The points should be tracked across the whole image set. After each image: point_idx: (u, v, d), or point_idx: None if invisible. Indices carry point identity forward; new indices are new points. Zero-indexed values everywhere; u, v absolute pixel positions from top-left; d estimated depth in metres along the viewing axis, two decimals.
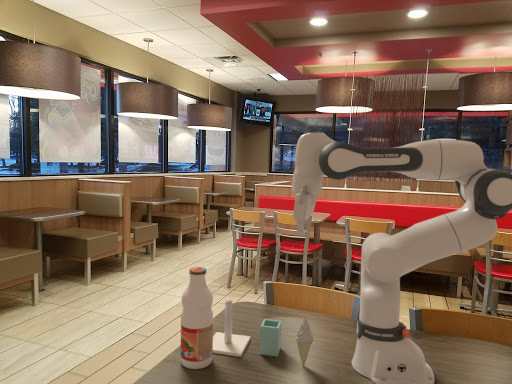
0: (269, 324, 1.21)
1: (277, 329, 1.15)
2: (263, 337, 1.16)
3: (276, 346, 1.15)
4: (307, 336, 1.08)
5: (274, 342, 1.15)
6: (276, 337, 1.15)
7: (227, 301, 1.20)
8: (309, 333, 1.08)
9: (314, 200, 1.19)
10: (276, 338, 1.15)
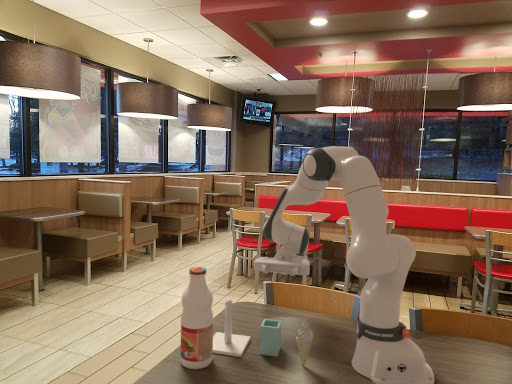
0: (269, 324, 1.21)
1: (277, 329, 1.15)
2: (263, 337, 1.16)
3: (276, 346, 1.15)
4: (307, 336, 1.08)
5: (274, 342, 1.15)
6: (276, 337, 1.15)
7: (227, 301, 1.20)
8: (309, 333, 1.08)
9: (304, 261, 1.36)
10: (276, 338, 1.15)
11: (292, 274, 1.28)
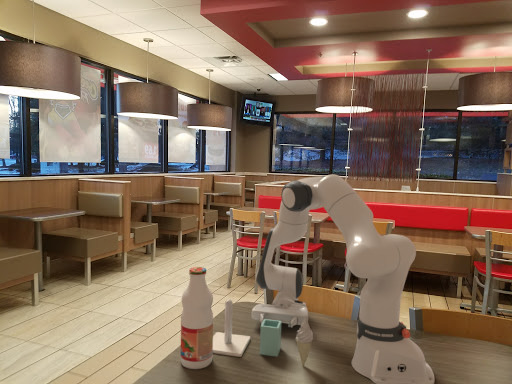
0: (269, 324, 1.21)
1: (277, 329, 1.15)
2: (263, 337, 1.16)
3: (276, 346, 1.15)
4: (307, 336, 1.08)
5: (274, 342, 1.15)
6: (276, 337, 1.15)
7: (227, 301, 1.20)
8: (309, 333, 1.08)
9: (302, 310, 1.35)
10: (276, 338, 1.15)
11: (290, 325, 1.27)
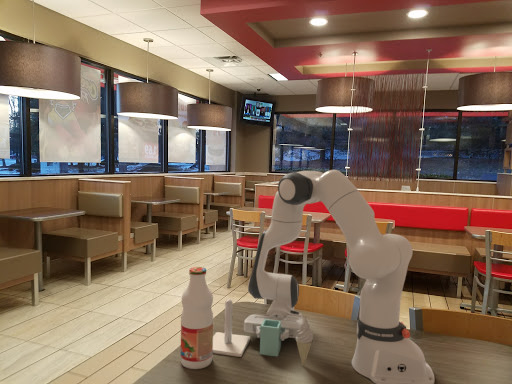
0: (269, 324, 1.21)
1: (277, 329, 1.15)
2: (263, 337, 1.16)
3: (276, 346, 1.15)
4: (307, 336, 1.08)
5: (274, 342, 1.15)
6: (276, 337, 1.15)
7: (227, 301, 1.20)
8: (309, 333, 1.08)
9: (298, 321, 1.25)
10: (276, 338, 1.15)
11: (281, 339, 1.17)
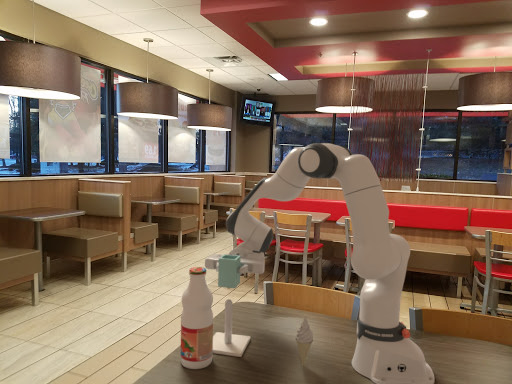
0: None
1: (234, 261, 1.17)
2: (221, 269, 1.18)
3: (234, 278, 1.17)
4: (307, 336, 1.08)
5: (232, 274, 1.17)
6: (234, 269, 1.17)
7: (227, 301, 1.20)
8: (309, 333, 1.08)
9: (259, 258, 1.26)
10: (234, 270, 1.17)
11: (239, 272, 1.18)
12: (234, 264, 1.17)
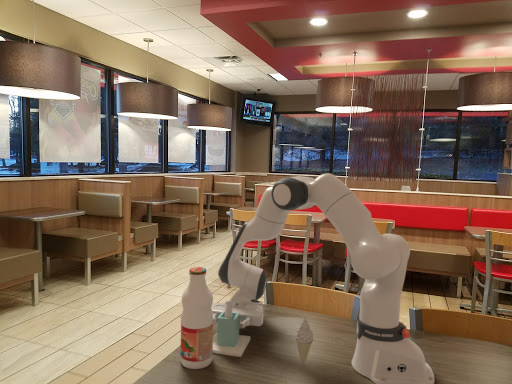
0: None
1: (233, 320, 1.18)
2: (220, 328, 1.19)
3: (232, 337, 1.18)
4: (307, 336, 1.08)
5: (231, 333, 1.19)
6: (232, 328, 1.18)
7: (227, 301, 1.20)
8: (309, 333, 1.08)
9: (257, 309, 1.28)
10: (232, 329, 1.18)
11: (242, 326, 1.20)
12: (233, 324, 1.18)
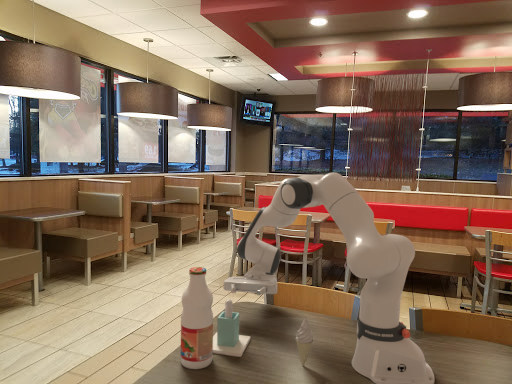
0: None
1: (233, 320, 1.18)
2: (220, 328, 1.19)
3: (232, 337, 1.18)
4: (307, 336, 1.08)
5: (231, 333, 1.19)
6: (232, 328, 1.18)
7: (227, 301, 1.20)
8: (309, 333, 1.08)
9: (272, 280, 1.41)
10: (232, 329, 1.18)
11: (259, 293, 1.33)
12: (233, 324, 1.18)
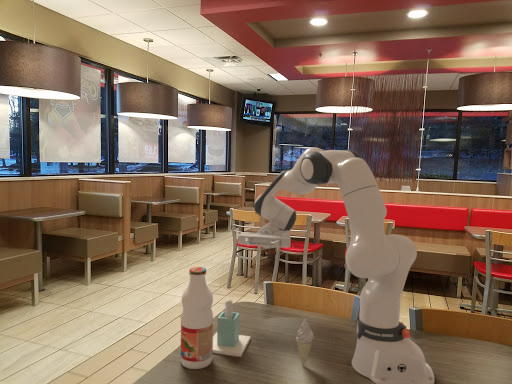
0: None
1: (233, 320, 1.18)
2: (220, 328, 1.19)
3: (232, 337, 1.18)
4: (307, 336, 1.08)
5: (231, 333, 1.19)
6: (232, 328, 1.18)
7: (227, 301, 1.20)
8: (309, 333, 1.08)
9: (285, 235, 1.43)
10: (232, 329, 1.18)
11: (273, 245, 1.35)
12: (233, 324, 1.18)
